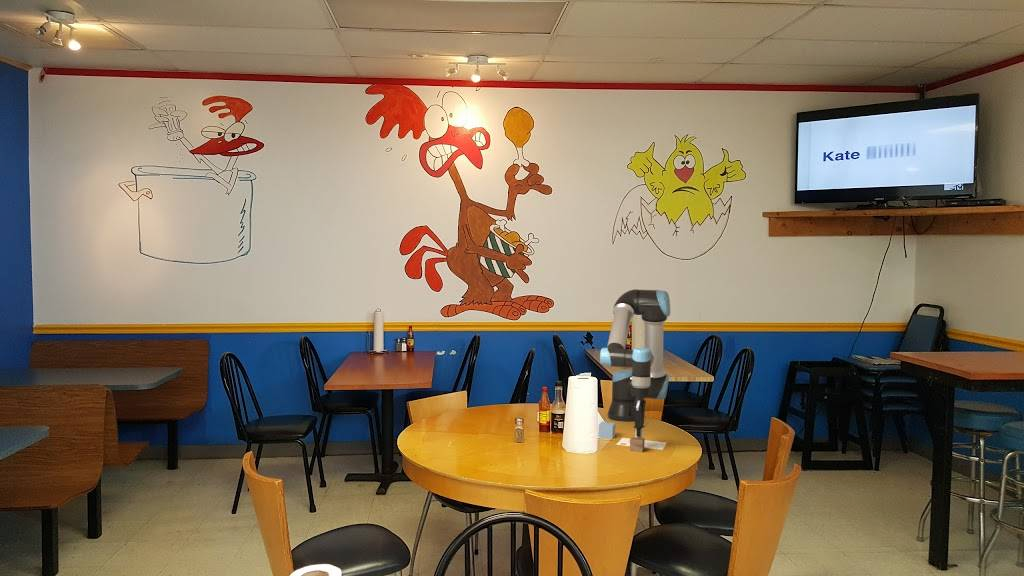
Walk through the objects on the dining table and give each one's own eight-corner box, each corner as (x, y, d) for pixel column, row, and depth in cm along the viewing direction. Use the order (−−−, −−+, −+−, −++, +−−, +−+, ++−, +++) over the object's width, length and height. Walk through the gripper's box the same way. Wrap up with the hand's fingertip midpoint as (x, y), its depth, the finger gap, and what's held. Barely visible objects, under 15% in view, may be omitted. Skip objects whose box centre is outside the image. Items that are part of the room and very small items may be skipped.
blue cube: (601, 435, 330) (602, 421, 329) (615, 436, 327) (615, 423, 327) (598, 438, 324) (598, 424, 324) (612, 439, 322) (612, 426, 321)
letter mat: (619, 436, 327) (619, 436, 327) (671, 442, 319) (671, 441, 319) (611, 445, 312) (611, 445, 312) (665, 452, 304) (665, 451, 304)
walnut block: (632, 448, 308) (632, 436, 308) (644, 450, 307) (644, 438, 306) (629, 451, 304) (630, 439, 303) (642, 453, 302) (642, 440, 302)
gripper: (634, 383, 314) (632, 439, 315) (628, 388, 302) (626, 446, 303) (652, 384, 312) (650, 441, 313) (647, 389, 299) (645, 448, 301)
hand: (638, 443), depth 308 cm, fingers closed
